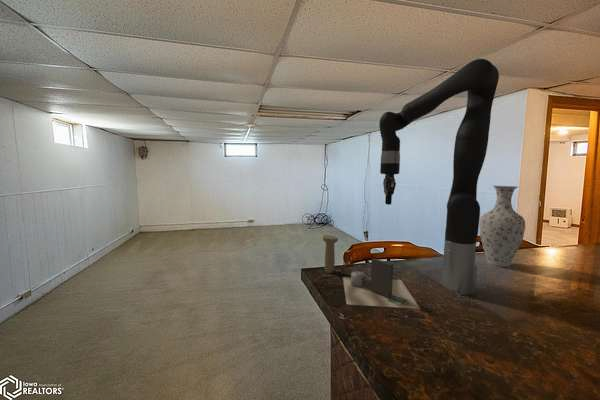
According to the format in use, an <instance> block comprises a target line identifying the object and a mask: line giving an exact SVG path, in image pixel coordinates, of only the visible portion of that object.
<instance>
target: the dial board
mask: <svg viewBox="0 0 600 400" xmlns="http://www.w3.org/2000/svg"><path fill="white" fill-rule="evenodd" d="M368 278H369V277H368ZM369 279H371V277H370V278H369ZM342 281H343V288H344V295H345V302H346V305H347V306H348V305H351V306H363V307H364V306H367V307H368V306H369V307H384V308H399V309H401V308H402V309H415V310H416V309H417V310H421V307H420V306H419V305H418V303H417V301H416V300H415V298H414V297H413V296H412V294H411V293H410V291H409V290H408V288H407V287H406V285H405V283H404V282H403V281H402V280H401V279H393V284H392V295H395V296H397V297H399V298H402V299H403V301H402V302H400V301H398V300H396V299H394V298H387V297H385V296H382V295H380V294H378V293H376V292H373V291H371V289H370V288H368V287H366V286H354V285H352V284H351V276H350V277H349V276H342Z"/></svg>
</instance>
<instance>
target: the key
mask: <svg viewBox="0 0 600 400" xmlns="http://www.w3.org/2000/svg"><path fill="white" fill-rule="evenodd" d="M370 269H371V270H370V272H371V274H370V278H371V279H369V277H367V274H366V272H363V271H359V270H356V271H352V272H350V277H351V284H352V285H354V286H366V287H368V288H370V289H371V291H373V292H376V293H378V294H380V295H382V296H385V297H387V298H394V299H396V300H398V301H400V302H402V301H403V299H402V298H399V297H397V296H395V295H392V284H393V280H394V263H390V262H387V261H385V260H381V259H377V258H372V259H371V268H370Z"/></svg>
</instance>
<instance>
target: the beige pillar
mask: <svg viewBox="0 0 600 400" xmlns="http://www.w3.org/2000/svg"><path fill="white" fill-rule="evenodd" d="M338 239H339V238H338V236H335V235H330V234H328V235H327V234H326V235H322V240H323V242H324V243H325V249H324V251H325V252H324V270H325V273H326V274H327V273H328V274H332V273H334V271H335V270H334V269H335V258H336V257H335V244H336V243H337V242H338Z"/></svg>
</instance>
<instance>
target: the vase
mask: <svg viewBox="0 0 600 400" xmlns="http://www.w3.org/2000/svg"><path fill="white" fill-rule="evenodd" d="M492 187H493V188H494V189H495V193H496V202H495V205H494V207H492V209H491V210H488V211H487V212H484V213H483V214H482V215H480V219H479V238H480V240H481V243H482V248H483V250H484V251H483V252H484V254H485V255H484V256H485V259H486V264H487V265H490V266H493V267H496V266H497V267H496V268H502V267H508V268H510V267H511V263H512V261H513V259H514V257H515V255H516V253H517V252H518V250H519V249H520V246H521V244H522V242H523V240H524V235H525V230H526V221H525V218H524V217H523V216H522V215H521V214H519V213H517V212H516V211H515V209H514V208H513V205H512V198H513V194H514V192H515V190H516V189H517V188H519V186H514V185H492Z"/></svg>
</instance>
